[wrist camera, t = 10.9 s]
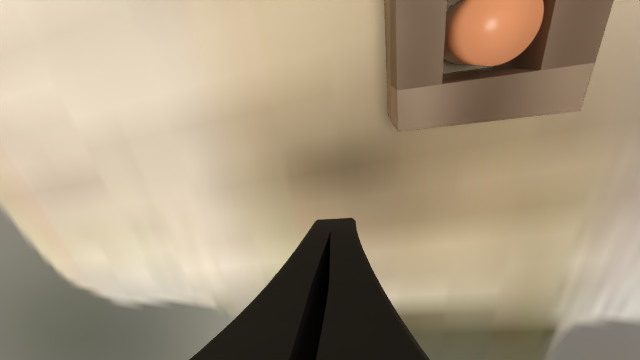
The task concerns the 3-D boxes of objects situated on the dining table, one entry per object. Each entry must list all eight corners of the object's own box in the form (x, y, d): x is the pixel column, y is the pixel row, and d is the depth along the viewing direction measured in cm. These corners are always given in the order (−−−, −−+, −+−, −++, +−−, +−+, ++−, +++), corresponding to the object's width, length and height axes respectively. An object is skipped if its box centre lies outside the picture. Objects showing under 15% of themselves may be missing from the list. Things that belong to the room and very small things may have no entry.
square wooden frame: (562, -84, 11) (657, -146, 8) (525, 97, 15) (580, 111, 11) (383, -42, 13) (394, -79, 9) (388, 114, 16) (397, 131, 13)
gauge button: (501, -9, 12) (552, -31, 9) (492, 58, 13) (534, 59, 10) (436, 4, 13) (463, -13, 10) (433, 67, 14) (456, 71, 11)
